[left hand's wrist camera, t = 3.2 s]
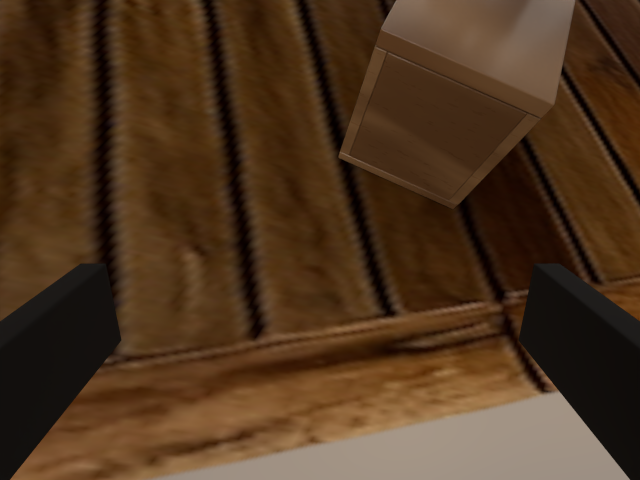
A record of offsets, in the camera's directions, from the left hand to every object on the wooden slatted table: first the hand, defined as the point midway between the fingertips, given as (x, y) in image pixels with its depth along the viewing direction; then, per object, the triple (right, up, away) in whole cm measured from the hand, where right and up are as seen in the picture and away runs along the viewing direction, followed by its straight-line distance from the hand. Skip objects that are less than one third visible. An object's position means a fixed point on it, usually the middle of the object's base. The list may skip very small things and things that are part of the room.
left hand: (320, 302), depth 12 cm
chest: (+9, +13, +22) cm, 27 cm away
